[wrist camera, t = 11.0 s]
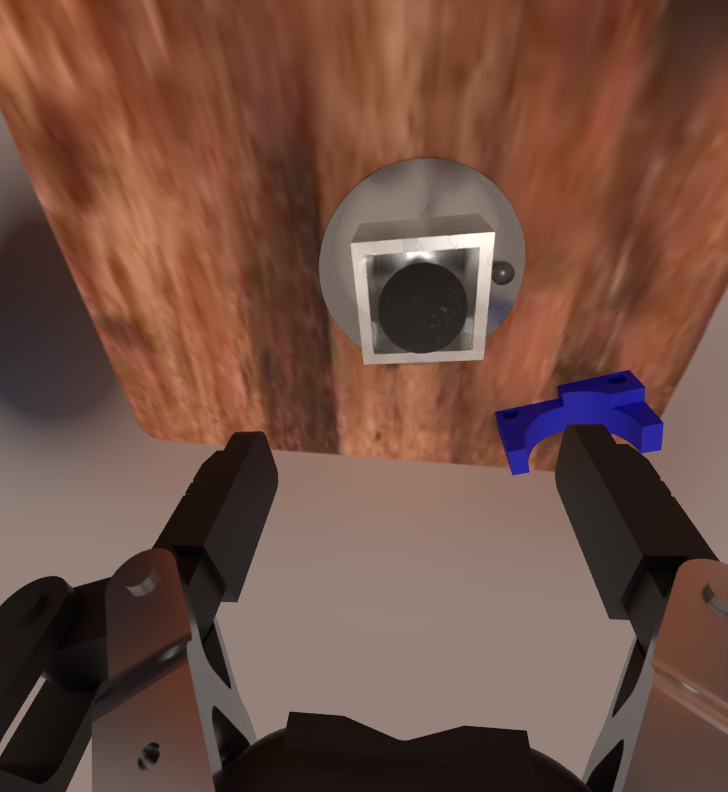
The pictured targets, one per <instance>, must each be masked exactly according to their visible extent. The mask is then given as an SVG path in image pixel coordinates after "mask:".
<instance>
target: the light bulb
mask: <svg viewBox="0 0 728 792" xmlns="http://www.w3.org/2000/svg"><path fill="white" fill-rule="evenodd" d="M467 310H468V302H467V296H466V292H465V290H464V287H463V285H462V284H461V282H460V281H459V279H458V278H457V277H456V276H455V275H454V274H453V273H452V272H451V271H449V270H448V269H447V268H445V267H443V266H440V265H438V264H433V263H429V262H427V263H415V264H412V265H408V266H406V267H404V268H402V269H400V270H399V271H397V272H396V273H395V274H394V275H393V276H392V277H391V278H390V279H389V280H388V282H387V283H386V284H385V286H384V288H383V290H382V292H381V295H380V298H379V303H378V314H379V320H380V324H381V327H382V329H383V331H384V333H385V334H386V336H387V337H388V339H389V340H390V341H391V342H392V343H394V344H395V345H396V346H397V347H399V348H401V349H403V350H405V351H408V352H411V353H417V354H427V353H431V352H435V351H438V350H440V349H443V348H444V347H446V346H447V345H449V344H450V343H451V342H452V341H453V340H454V339H455V338H456V337H457V336H458V334H459V333H460V332H461V330H462V328H463V326H464V324H465V321H466V317H467Z"/></svg>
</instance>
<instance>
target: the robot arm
mask: <svg viewBox="0 0 728 792" xmlns="http://www.w3.org/2000/svg"><path fill="white" fill-rule="evenodd" d="M555 479H556V486H557V489H558V492H559V495H560V497H561V500H562V502H563V504H564V507H565V510H566V512H567V515H568V517H569V520H570V522H571V524H572V527H573V529H574V532H575V535H576V537H577V540H578V542H579V545H580V547H581V549H582V552H583V554H584V557H585V559H586V562H587V564H588V566H589V569H590V572H591V574H592V577H593V579H594V582H595V584H596V587H597V589H598V591H599V594H600V596H601V599H602V601H603V604H604V607H605V609H606V612H607V614H608V617H609V619H620V620H630V622H631V624H632V627H633V629H634V631H635V634H636V635H635V637H634V639H633V641H632V644H631V647H630V650H629V653H628V656H627V659H626V662H625V665H624V668H623V671H622V674H621V677H620V680H619V683H618V686H617V689H616V692H615V695H614V698H613V701H612V704H611V707H610V710H609V713H608V716H607V718H606V721H605V723H604V726H603V728H602V730H601V733H600V735H599V736H598V739H597V741H596V743H595V745H594V748H593V750H592V752H591V755H590V757H589V760H588V763H587V766H586V769H585V771H584V775H583V777H582V780H580V779H579V778H578V777H577V776H576V775H574V774H573V773H572V772H571V771H569V770H568V769H566V768H565V767H564V766H562V765H561V764H560V763H558V762H557V761H555V760H553V759H552V758H550V757H548V756H546V755H545V754H543V753H541V752H539V751H537V750H535V749H532V748H530V745H529V740H528V735H527V731H524V730H512V729H499V728H487V727H475V726H461V727H458V728H454V729H450V730H446V731H443V732H439V733H435V734H431V735H427V736H423V737H419V738H415V739H412V740H407V741H403V740H398V739H395V738H393V737H391V736H388V735H386V734H384V733H382V732H379V731H377V730H375V729H372V728H370V727H368V726H365V725H363V724H361V723H358V722H357V721H354V720H352V719H350V718H347V717H345V716H338V715H325V714H313V713H301V712H289V717H288V721H287V726H286V728H284V729H280V730H278V731H276V732H273V733H271V734H269V735H267V736H265V737H264V738H262V739H260V740H258V741H257V738H256V735H255V732H254V729H253V726H252V723H251V721H250V718H249V716H248V713H247V711H246V709H245V707H244V705H243V703H242V701H241V698H240V696H239V693H238V690H237V686H236V683H235V679H234V676H233V673H232V669H231V666H230V662H229V659H228V655H227V652H226V648H225V645H224V641H223V638H222V634H221V631H220V627H219V624H218V620H217V618H216V616H215V615H216V613H217V610H218V607H219V605H220V602H238V599H239V596H240V593H241V590H242V587H243V584H244V582H245V579H246V576H247V573H248V570H249V567H250V565H251V562H252V559H253V556H254V553H255V550H256V548H257V545H258V542H259V539H260V536H261V533H262V531H263V528H264V525H265V522H266V519H267V516H268V514H269V511H270V508H271V505H272V502H273V499H274V496H275V493H276V491H277V486H278V472H277V467H276V465H275V462H274V459H273V456H272V453H271V450H270V447H269V444H268V441H267V438H266V436H265V434H264V433H263V432H261V431H255V432H235V433H234V434H233V435H232V436H231V438H230V440H229V442H228V443H227V445H226V447H225V449H224V451H216V452H215V453H214V454H213V455H212V456H211V457H210V458H208V459H207V461H205V462H204V463H203V464H202V465H201V467H200V469H199V471H198V472H197V474H196V476H195V477H194V479H193V483H191V484H190V486H189V487H188V489H187V491H186V492H185V493H186V495H185V496H183V497H182V499H181V501H180V502H179V504H178V506H177V508H176V509H175V511H174V512H173V514H172V516H171V518H170V519H169V521H168V523H167V524H166V526H165V528H164V529H163V531H162V533H161V534H160V536H159V538H158V539H157V541H156V543H155V544H154V546H153V547H152V549H148V550H145V551H142V552H140V553H138V554H136V555H134V556H133V557H131V558H130V559H128V560H127V561H126V562H125V563H124V564H122V565H121V566H120V567H119V568H118V569H117V570H116V572H115V573H114V575H113V576H112V577H109V578H106V579H102V580H99V581H95V582H92V583H88V584H85V585H81V586H78V587H74V588H72V587H71V586H70V585H69V584H68V583H67V582H66V581H65V580H64V579H62V578H60V577H57V576H49V577H44V578H40V579H38V580H35V581H33V582H31V583H29V584H27V585H25V586H24V587H22V588H20V589H19V590H18V591H16V592H15V593H14V594H13V595H11V596H10V597H9V598H8V599H7V600H6V601H5V602H4V603H3V604H2V605H1V606H0V742H1V740H2V738H3V736H4V735H5V733H6V731H7V730H8V728H9V726H10V725H11V723H12V722H13V720H14V718H15V717H16V715H17V713H18V712H19V710H20V708H21V707H22V705H23V703H24V702H25V700H26V699H27V697H28V695H29V694H30V692H31V690H32V689H33V687H34V685H35V684H36V682H37V680H38V679H39V677H40V676H42V677H43V678H45V679H46V681H45V682H44V684H43V686H42V687H41V689H40V691H39V693H38V694H37V696H36V698H35V699H34V701H33V702H32V704H31V706H30V707H29V709H28V711H27V712H26V714H25V716H24V717H23V719H22V721H21V723H20V724H19V726H18V728H17V729H16V731H15V733H14V734H13V736H12V738H11V739H10V741H9V743H8V744H7V746H6V748H5V749H4V751H3V753H2V754H1V756H0V792H66V790H67V788H68V786H69V783H70V781H71V779H72V777H73V775H74V773H75V771H76V769H77V766H78V764H79V762H80V760H81V758H82V756H83V753H84V751H85V749H86V747H87V745H88V743H89V741H90V739H91V736H92V792H728V564H725V563H722V562H720V561H719V560H718V558H717V557H716V556H715V554H714V553H713V551H712V550H711V549H710V547H709V546H708V544H707V543H706V542H705V540H704V539H703V537H702V536H701V534H700V533H699V532H698V530H697V529H696V527H695V526H694V524H693V523H692V522H691V520H690V519H689V517H688V516H687V514H686V513H685V512H684V510H683V509H682V507H681V506H680V504H679V503H678V502H677V500H676V499H675V497H672V496H671V492H670V490H669V489H668V487H667V486H666V485H665V483H664V482H663V481H661V480H660V476H659V475H658V473H657V472H656V470H655V469H654V467H653V466H652V465H651V463H650V462H649V460H648V459H647V458H645V457H644V456H643V455H641V454H640V453H639V452H637V451H636V450H635V449H633V448H632V447H631V446H629V445H628V444H616V442H615V441H614V439H613V437H612V436H611V434H610V433H609V431H608V430H607V428H606V427H605V426H604V425H603V424H569V425H567V426H566V428H565V431H564V435H563V439H562V443H561V447H560V451H559V455H558V459H557V463H556V468H555Z"/></svg>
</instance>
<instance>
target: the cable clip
mask: <svg viewBox="0 0 728 792" xmlns="http://www.w3.org/2000/svg"><path fill="white" fill-rule="evenodd" d="M558 391H559V399H554V400H549V401H545V402H540V403H535V404H530V405H526V406H521V407H516V408H512V409H507V410H502V411H498V412H495V414H496V419H497V424H498V428H499V433H500V437H501V440H502V443H503V446H504V450H505V453H506V456H507V459H508V462H509V466H510V469H511V472H512V475H517V474H523V473H529V465H528V459H529V455H530V453H531V451H532V449H533V448H534V447H535V446H536V444H537V443H539V442H540V441H541V440H543V439H544V438H546V437H548V436H550V435H552V434H554V433H557V432H561V431H565V428H566V426H567V425H569V424H603V425H604V426H605V427H606V428H607V430H608V431H609V433H611V434H614V435H617V436H619V437H621V438H623V439H625V440H627V441H628V442H630V443H631V444H632V445H634V446H635V447H636V448H637V449H638V450H639V452H640V453H646V452H652V451H658V450H661V445H662V435H663V422H662V421H661V420H660V418H659V417H658V416H657V415H656V414H655V413H654V412H653V410H652V409H651V408H650V407H649V406H648V405H647V404H646V402H645V401H644V398H645V387H644V386H643V384H642V383H641V382H640V381H639V380H638V379H637V378H636V377H635V376H634V375H633V374H632V373H631V372H630V370H627V371H623V372H618V373H614V374H609V375H605V376H600V377H596V378H591V379H587V380H582V381H578V382H573V383H569V384H564V385H560V386H558Z"/></svg>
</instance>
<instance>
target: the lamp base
mask: <svg viewBox="0 0 728 792" xmlns="http://www.w3.org/2000/svg"><path fill="white" fill-rule="evenodd" d="M525 257H526V256H525V242H524V237H523V232H522V228H521V225H520V222H519V219H518V217H517V214H516V212H515V211H514V209H513V207H512V205H511V203H510V202H509V200H508V199H507V198H506V196H505V195H504V194H503V193H502V191H501V190H500V189H499V188H498V187H497V186H496V185H495V184H494V183H493V182H492V181H490V180H489V179H488V178H486V177H485V176H483V175H482V174H480V173H479V172H477V171H476V170H474V169H472V168H470V167H467V166H465V165H463V164H461V163H457V162H454V161H450V160H446V159H438V158H415V159H410V160H404V161H400V162H397V163H394V164H391V165H388V166H386V167H384V168H382V169H380V170H378V171H376V172H374V173H373V174H371V175H370V176H368V177H367V178H366V179H364V180H363V181H361V182H360V183H359V184H358V185H357V186H356V187H355V188H354V189H353V190H352V191H351V192H350V193H349V194H348V195H347V196H346V198H345V199H344V200H343V201H342V202H341V204H340V205H339V207H338V208H337V210H336V211H335V213H334V215H333V216H332V218H331V220H330V222H329V225H328V227H327V229H326V232H325V235H324V238H323V241H322V245H321V251H320V258H319V275H320V285H321V289H322V293H323V297H324V300H325V303H326V305H327V308H328V310H329V312H330V314H331V316H332V318H333V319H334V321H335V322H336V324H337V325H338V327H339V328H340V329H341V330H342V331H343V333H344V334H345V335H346V336H347V337H348V338H349V339H350V340H352V341H353V342H354V343H355V344H356V345H358V346H359V347H360V348H362V352H363V361H364V364H389V363H401V364H410V365H422V364H432V363H437V362H442V361H465V360H483V359H484V348H485V339H487V338H488V337H489V336H490V335H491V334H492V333H493V332H494V331H495V330H496V329H497V328H498V326H499V325H500V324H501V323H502V322H503V320H504V319H505V318H506V316H507V314H508V313H509V311H510V310H511V308H512V306H513V304H514V302H515V300H516V298H517V296H518V293H519V290H520V287H521V284H522V280H523V275H524V270H525ZM427 262H429V263H433V264H438V265H440V266H443V267H445V268H447V269H448V270H449V271H451V272H452V273H453V274H454V275H455V276H456V277H457V278H458V279H459V281H460V282H461V284H462V285H463V287H464V290H465V292H466V296H467V302H468V310H467V317H466V321H465V324H464V326H463V328H462V330H461V332H460V333H459V334H458V336H457V337H456V338H455V339H454V340H453V341H452V342H451V343H450V344H449V345H447V346H446V347H444V348H443V349H440V350H438V351H435V352H431V353H427V354H417V353H411V352H408V351H405V350H403V349H401V348H399V347H397V346H396V345H395V344H394V343H392V342H391V341H390V340H389V339H388V337H387V336H386V334H385V333H384V331H383V329H382V327H381V324H380V320H379V314H378V303H379V298H380V295H381V292H382V290H383V288H384V286H385V284H386V283H387V282H388V280H389V279H390V278H391V277H392V276H393V275H394V274H395V273H396V272H397V271H399V270H400V269H402V268H404V267H406V266H408V265H412V264H415V263H427Z"/></svg>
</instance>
